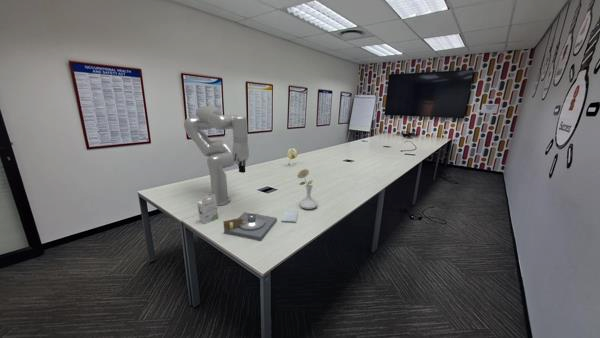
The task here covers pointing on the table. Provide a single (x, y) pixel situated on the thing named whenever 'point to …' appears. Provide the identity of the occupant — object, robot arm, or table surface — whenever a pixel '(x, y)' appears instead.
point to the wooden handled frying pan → (246, 222)
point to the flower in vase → (308, 201)
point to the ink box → (207, 209)
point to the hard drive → (290, 216)
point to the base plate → (252, 234)
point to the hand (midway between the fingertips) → (242, 172)
